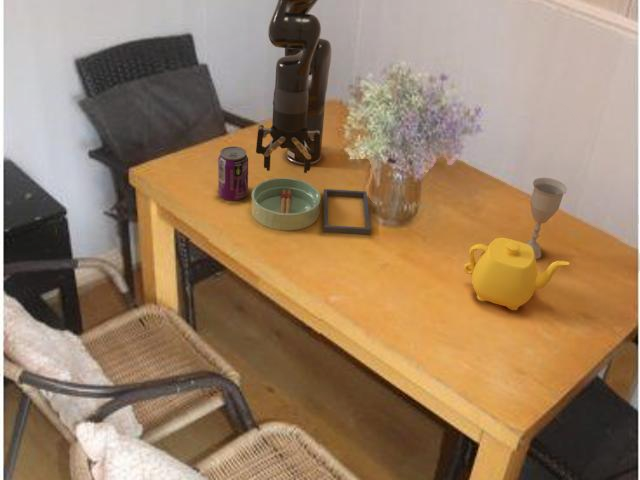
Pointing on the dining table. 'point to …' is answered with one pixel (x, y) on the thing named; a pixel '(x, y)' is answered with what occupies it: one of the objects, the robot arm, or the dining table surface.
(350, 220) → the dining table surface
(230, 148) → the beverage can
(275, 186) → the bowl
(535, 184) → the chalice
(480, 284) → the teapot
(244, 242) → the dining table surface
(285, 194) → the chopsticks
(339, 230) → the tray
